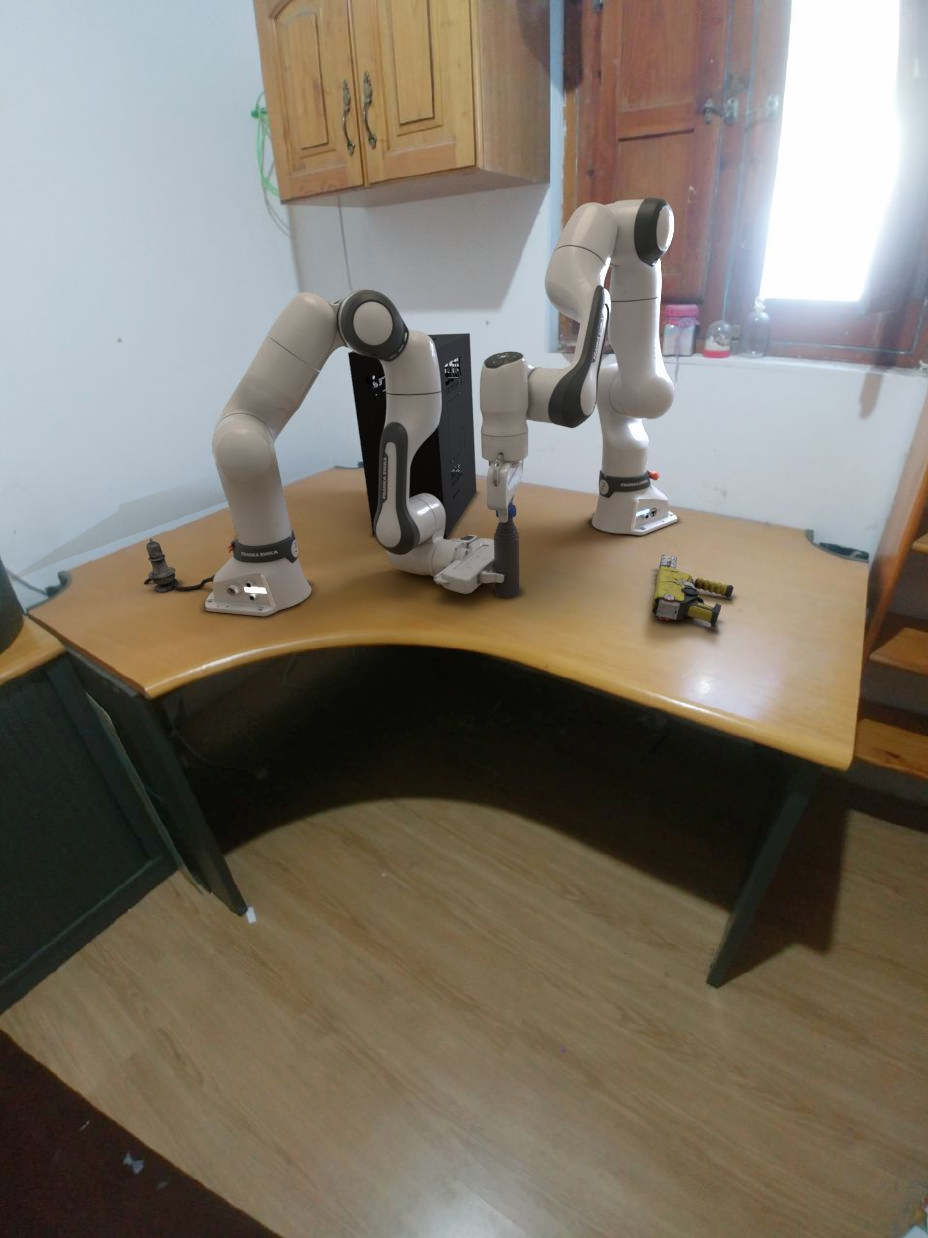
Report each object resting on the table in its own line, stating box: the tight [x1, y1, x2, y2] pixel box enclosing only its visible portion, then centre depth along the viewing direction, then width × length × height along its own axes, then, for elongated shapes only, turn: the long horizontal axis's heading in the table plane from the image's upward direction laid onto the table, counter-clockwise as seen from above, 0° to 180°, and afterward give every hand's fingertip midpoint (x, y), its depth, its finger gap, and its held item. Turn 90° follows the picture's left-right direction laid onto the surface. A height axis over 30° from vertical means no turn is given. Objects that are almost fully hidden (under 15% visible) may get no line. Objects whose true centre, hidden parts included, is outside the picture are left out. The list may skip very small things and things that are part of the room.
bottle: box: [493, 518, 520, 599], centre depth 125 cm, size 5×5×18 cm
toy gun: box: [650, 553, 734, 628], centre depth 121 cm, size 5×24×15 cm
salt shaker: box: [145, 538, 180, 593], centre depth 137 cm, size 6×6×12 cm
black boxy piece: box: [347, 332, 477, 540], centre depth 163 cm, size 38×20×45 cm, turn 167°
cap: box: [495, 503, 517, 519], centre depth 120 cm, size 4×4×2 cm
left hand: (511, 571), depth 126 cm, fingers closed on bottle, 5 cm apart
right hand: (505, 516), depth 121 cm, fingers closed on cap, 4 cm apart
